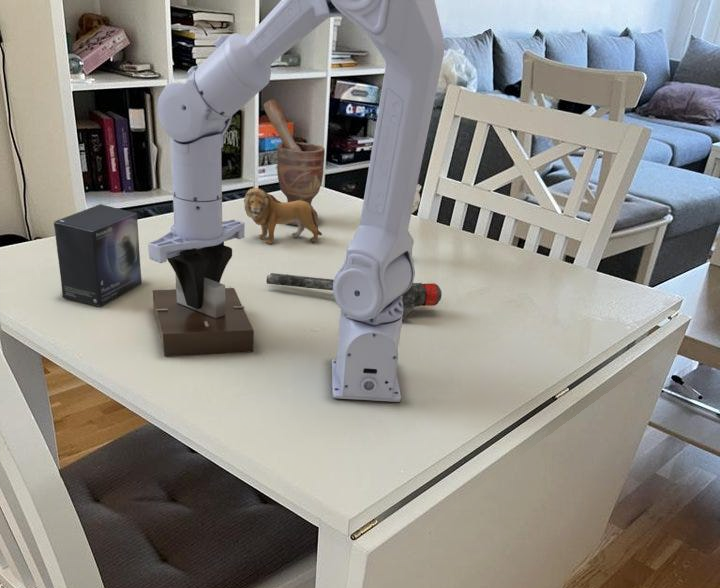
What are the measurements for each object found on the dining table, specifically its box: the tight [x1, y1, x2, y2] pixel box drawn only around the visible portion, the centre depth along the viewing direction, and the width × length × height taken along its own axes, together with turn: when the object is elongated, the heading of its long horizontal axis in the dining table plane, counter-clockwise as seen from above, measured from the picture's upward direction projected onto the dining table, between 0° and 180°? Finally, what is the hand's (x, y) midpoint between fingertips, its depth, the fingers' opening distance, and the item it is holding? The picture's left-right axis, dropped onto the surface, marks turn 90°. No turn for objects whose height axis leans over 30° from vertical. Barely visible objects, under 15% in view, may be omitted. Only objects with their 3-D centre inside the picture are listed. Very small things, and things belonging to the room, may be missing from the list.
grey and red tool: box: [266, 272, 443, 320], centre depth 113 cm, size 6×26×15 cm
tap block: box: [151, 287, 255, 357], centre depth 98 cm, size 14×11×3 cm
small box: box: [53, 203, 142, 307], centre depth 104 cm, size 11×6×10 cm, turn 161°
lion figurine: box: [243, 187, 323, 245], centre depth 129 cm, size 15×5×9 cm, turn 118°
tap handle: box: [174, 272, 226, 318], centre depth 96 cm, size 7×2×4 cm, turn 55°
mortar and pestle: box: [263, 98, 326, 226], centre depth 137 cm, size 12×9×20 cm
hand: (200, 303), depth 97 cm, fingers closed on tap handle, 2 cm apart
